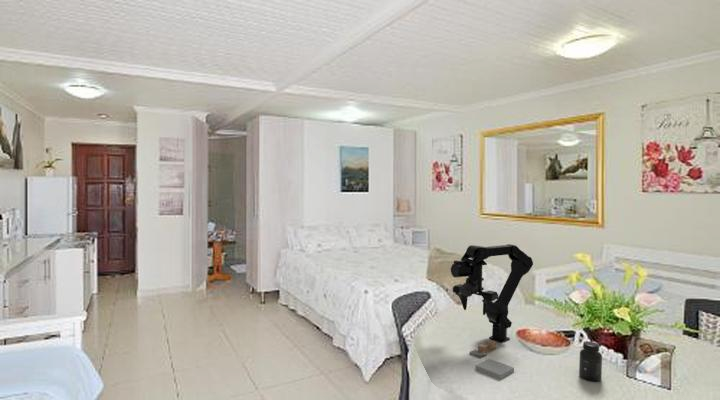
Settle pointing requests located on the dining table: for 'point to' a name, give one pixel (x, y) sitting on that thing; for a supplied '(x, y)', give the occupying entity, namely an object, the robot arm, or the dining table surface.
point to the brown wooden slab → (484, 349)
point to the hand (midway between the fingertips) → (474, 312)
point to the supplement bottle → (590, 362)
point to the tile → (494, 368)
